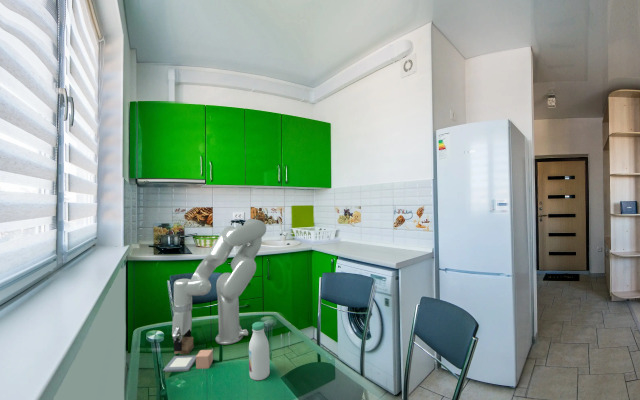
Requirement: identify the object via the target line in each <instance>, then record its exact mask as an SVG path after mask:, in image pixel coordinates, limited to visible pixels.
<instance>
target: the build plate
mask: <svg viewBox="0 0 640 400" xmlns="http://www.w3.org/2000/svg"><path fill="white" fill-rule="evenodd" d="M196 356H197V354H196V355H193V354H192V355H174V356H173V357H172V359H170V361H169V362H168V363H167V364H166V365H165V367H164V368H163V369H162V372H163V371H165V372H189V371H190V369H192V367H193V365H194V363H196Z"/></svg>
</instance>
